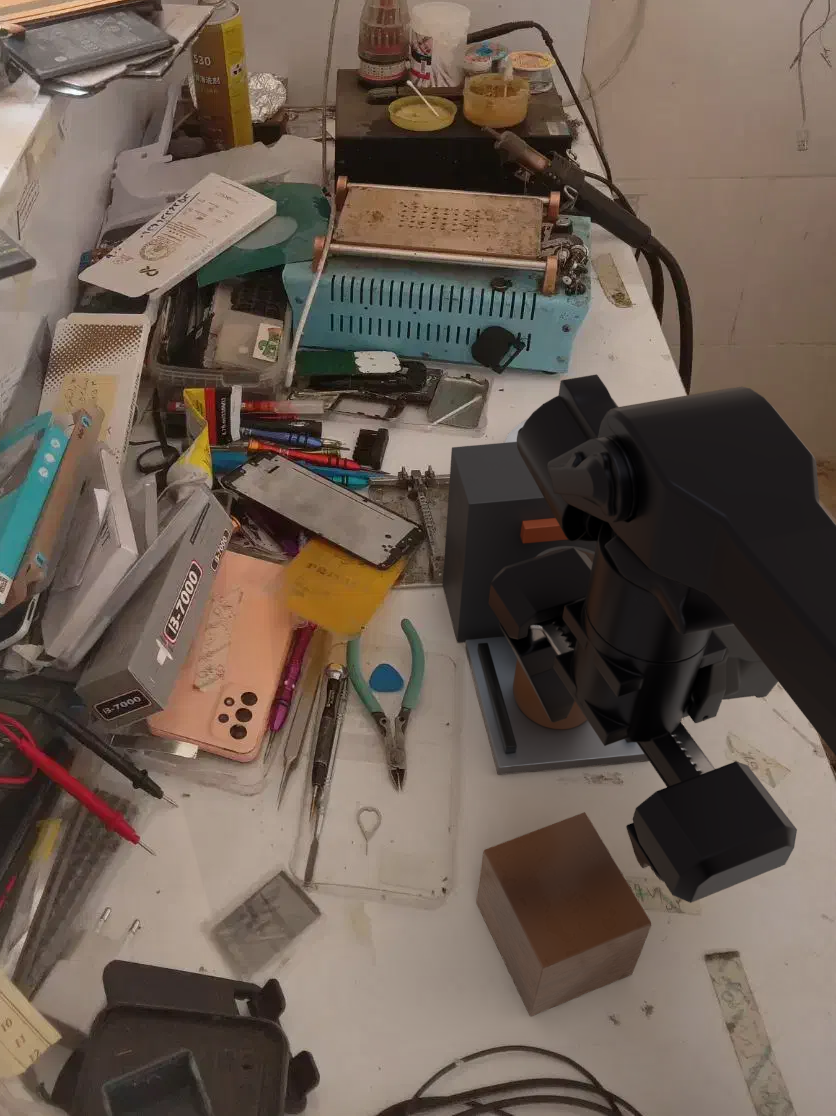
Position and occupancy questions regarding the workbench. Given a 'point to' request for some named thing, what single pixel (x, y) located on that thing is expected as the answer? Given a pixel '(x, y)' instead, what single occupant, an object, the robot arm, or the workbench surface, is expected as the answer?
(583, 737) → the drip pan
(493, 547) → the coffee maker
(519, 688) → the carafe
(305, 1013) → the workbench surface
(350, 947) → the workbench surface
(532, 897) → the brown cube
